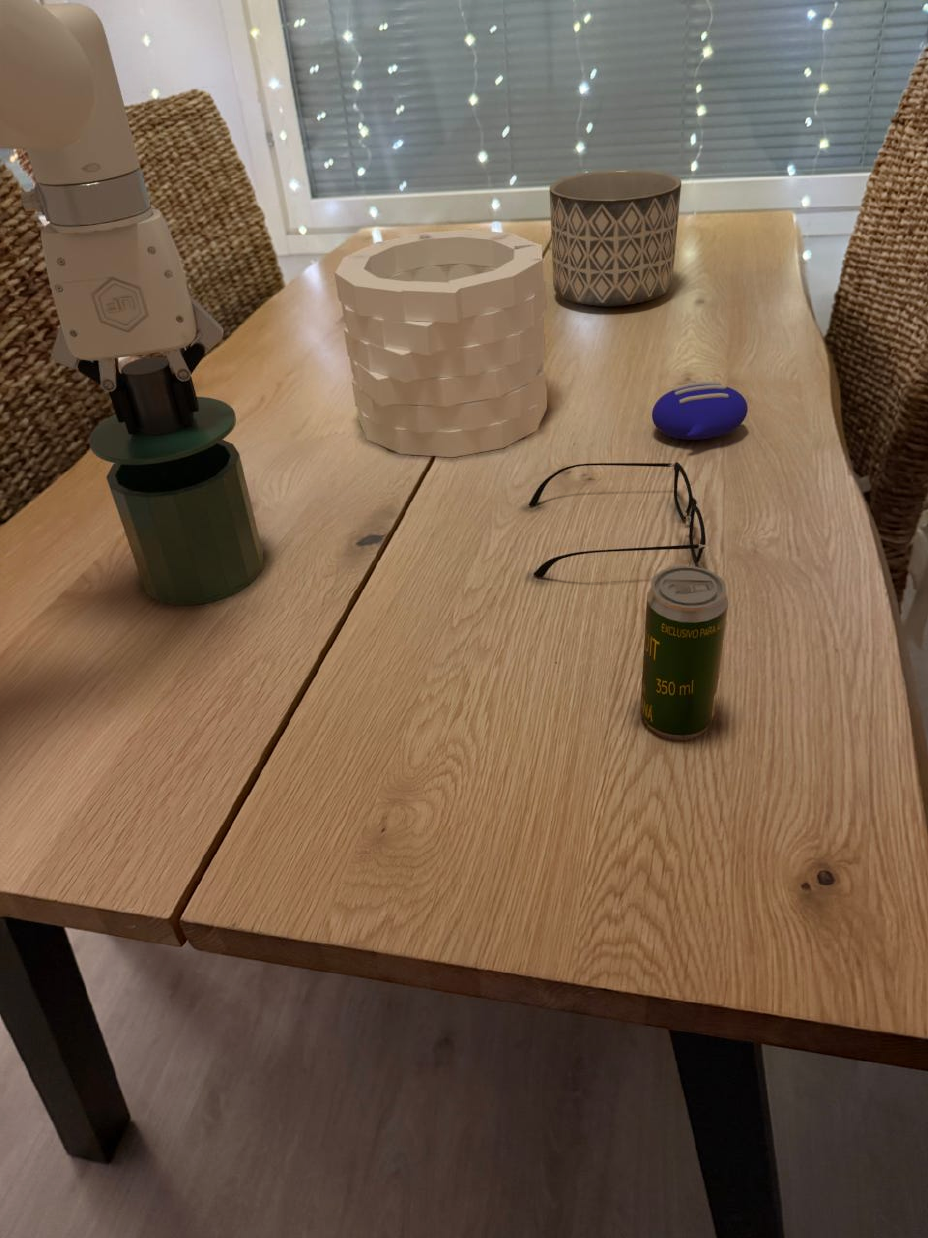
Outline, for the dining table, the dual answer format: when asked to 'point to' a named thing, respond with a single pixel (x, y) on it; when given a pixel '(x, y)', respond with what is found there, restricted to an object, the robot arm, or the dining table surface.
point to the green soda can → (682, 651)
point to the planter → (614, 235)
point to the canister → (189, 525)
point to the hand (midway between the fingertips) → (161, 421)
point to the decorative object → (699, 411)
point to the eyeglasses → (692, 503)
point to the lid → (159, 420)
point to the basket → (446, 340)
